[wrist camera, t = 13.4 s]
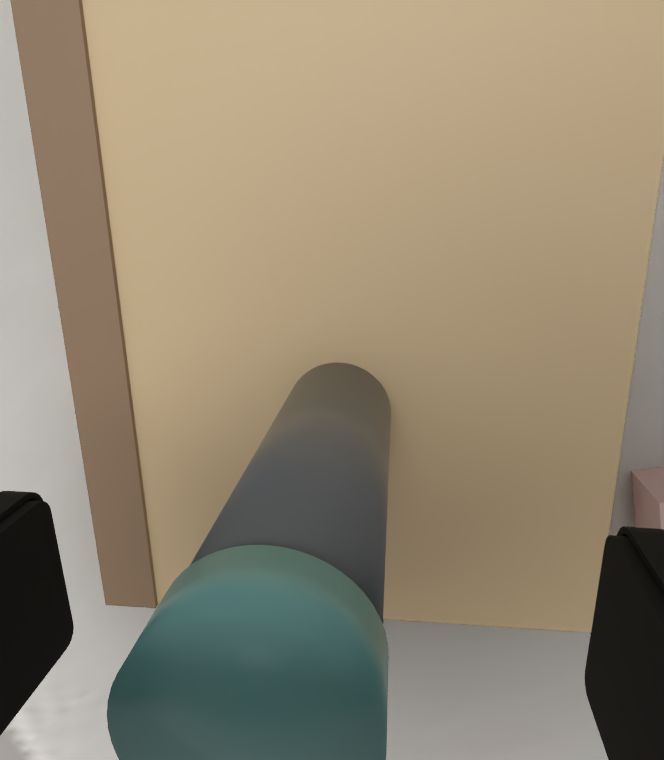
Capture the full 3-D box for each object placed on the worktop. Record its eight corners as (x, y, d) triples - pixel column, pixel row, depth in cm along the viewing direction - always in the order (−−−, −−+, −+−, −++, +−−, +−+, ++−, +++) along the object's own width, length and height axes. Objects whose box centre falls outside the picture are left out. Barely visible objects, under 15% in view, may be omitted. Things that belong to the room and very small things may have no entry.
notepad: (702, -213, 14) (725, -244, 13) (587, 617, 21) (596, 637, 20) (9, -148, 16) (-17, -172, 15) (118, 588, 23) (105, 604, 22)
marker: (394, 360, 18) (388, 632, 6) (392, 464, 19) (384, 857, 7) (282, 358, 18) (88, 612, 7) (287, 460, 19) (125, 828, 8)
